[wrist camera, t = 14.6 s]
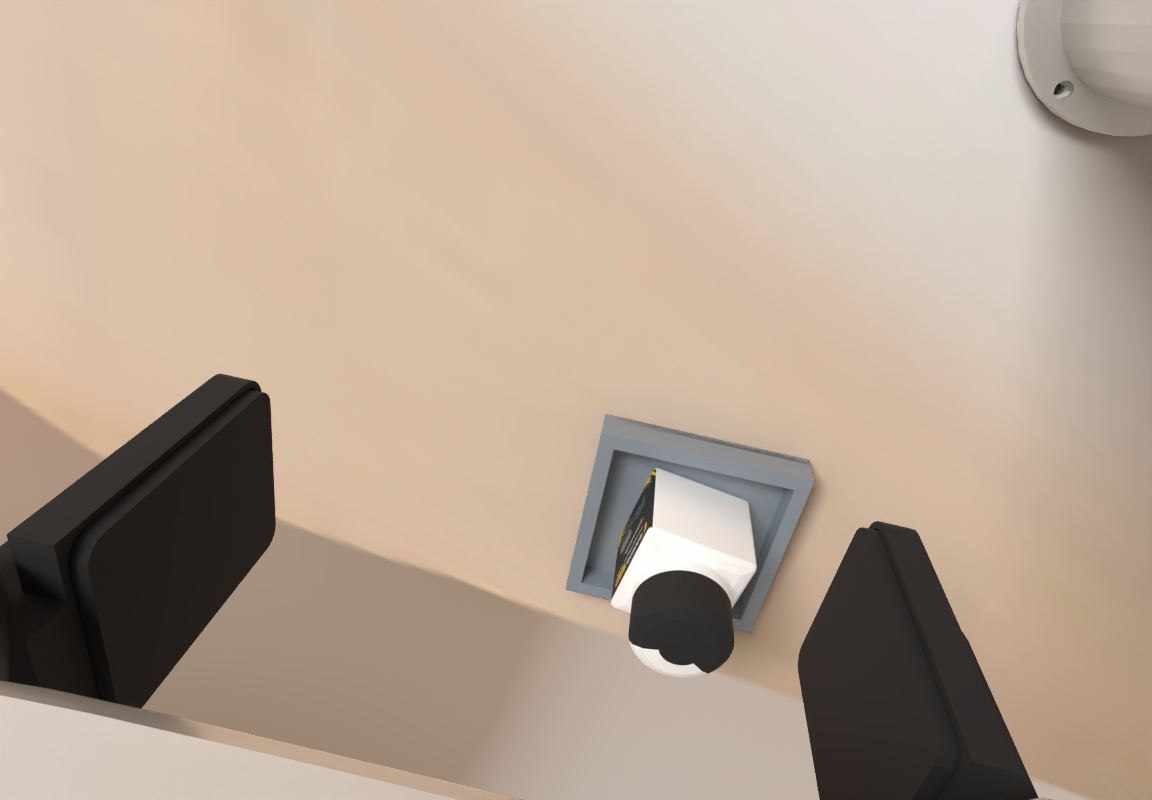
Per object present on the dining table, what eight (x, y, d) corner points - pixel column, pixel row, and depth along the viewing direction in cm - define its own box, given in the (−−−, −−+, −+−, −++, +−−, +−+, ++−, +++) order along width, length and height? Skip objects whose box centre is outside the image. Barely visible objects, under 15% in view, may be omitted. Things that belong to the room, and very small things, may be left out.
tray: (809, 460, 48) (814, 481, 46) (747, 608, 55) (750, 633, 53) (605, 414, 49) (601, 433, 46) (570, 567, 55) (565, 589, 53)
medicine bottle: (654, 464, 49) (645, 585, 39) (750, 499, 49) (767, 629, 39) (617, 538, 53) (600, 668, 42) (707, 571, 53) (712, 708, 42)
